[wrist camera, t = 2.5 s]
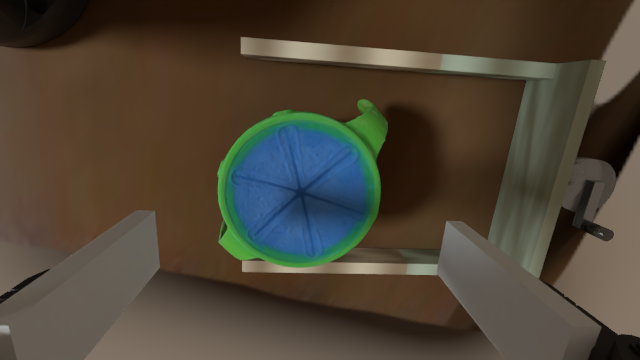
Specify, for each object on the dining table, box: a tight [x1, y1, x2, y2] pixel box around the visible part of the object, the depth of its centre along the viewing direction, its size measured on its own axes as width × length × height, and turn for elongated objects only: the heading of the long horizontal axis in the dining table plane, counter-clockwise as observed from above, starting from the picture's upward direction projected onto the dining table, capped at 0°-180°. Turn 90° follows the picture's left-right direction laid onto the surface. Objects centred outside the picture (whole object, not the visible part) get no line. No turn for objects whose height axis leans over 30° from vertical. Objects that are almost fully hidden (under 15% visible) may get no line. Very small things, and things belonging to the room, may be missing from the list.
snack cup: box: [218, 99, 388, 268], centre depth 24 cm, size 16×10×10 cm
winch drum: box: [561, 155, 616, 241], centre depth 27 cm, size 5×6×7 cm
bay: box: [241, 37, 606, 279], centre depth 26 cm, size 27×20×6 cm
